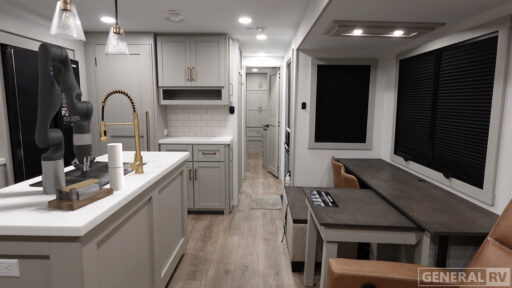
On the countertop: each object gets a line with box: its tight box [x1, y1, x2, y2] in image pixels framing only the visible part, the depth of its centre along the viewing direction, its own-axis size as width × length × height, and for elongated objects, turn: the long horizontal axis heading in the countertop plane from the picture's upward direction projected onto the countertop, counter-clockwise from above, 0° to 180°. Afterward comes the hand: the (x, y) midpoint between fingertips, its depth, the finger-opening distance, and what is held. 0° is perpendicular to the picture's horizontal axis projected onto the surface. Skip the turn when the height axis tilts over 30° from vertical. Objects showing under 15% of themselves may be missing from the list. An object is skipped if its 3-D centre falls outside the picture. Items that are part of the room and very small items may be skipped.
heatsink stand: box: [47, 180, 114, 212], centre depth 135 cm, size 14×24×9 cm, turn 168°
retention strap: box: [59, 178, 100, 192], centre depth 134 cm, size 5×18×2 cm, turn 168°
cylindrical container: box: [106, 142, 125, 192], centre depth 153 cm, size 7×7×25 cm
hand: (84, 178), depth 136 cm, fingers closed
